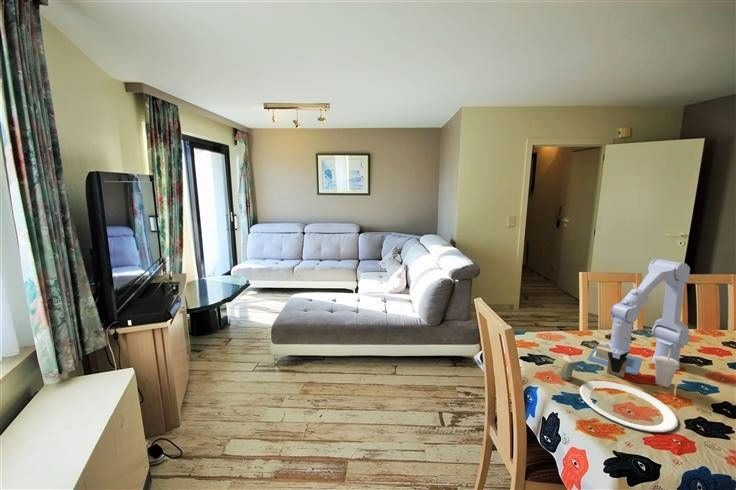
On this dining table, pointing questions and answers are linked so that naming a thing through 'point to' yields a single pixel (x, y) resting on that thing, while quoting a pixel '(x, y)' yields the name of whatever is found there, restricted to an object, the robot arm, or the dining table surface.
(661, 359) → the smoothie
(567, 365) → the grey small block
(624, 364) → the walnut block
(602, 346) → the birch block
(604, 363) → the board
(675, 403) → the dining table surface
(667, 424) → the white flat ring
